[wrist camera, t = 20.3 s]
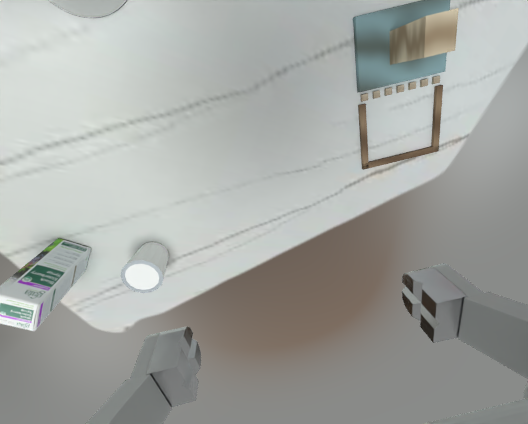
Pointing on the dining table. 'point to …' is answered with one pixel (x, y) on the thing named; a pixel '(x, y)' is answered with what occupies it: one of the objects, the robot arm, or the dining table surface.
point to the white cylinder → (146, 268)
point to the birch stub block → (424, 37)
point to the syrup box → (41, 284)
